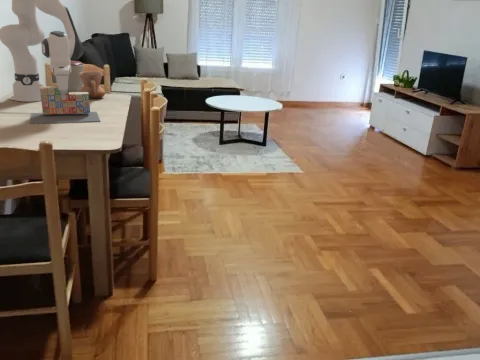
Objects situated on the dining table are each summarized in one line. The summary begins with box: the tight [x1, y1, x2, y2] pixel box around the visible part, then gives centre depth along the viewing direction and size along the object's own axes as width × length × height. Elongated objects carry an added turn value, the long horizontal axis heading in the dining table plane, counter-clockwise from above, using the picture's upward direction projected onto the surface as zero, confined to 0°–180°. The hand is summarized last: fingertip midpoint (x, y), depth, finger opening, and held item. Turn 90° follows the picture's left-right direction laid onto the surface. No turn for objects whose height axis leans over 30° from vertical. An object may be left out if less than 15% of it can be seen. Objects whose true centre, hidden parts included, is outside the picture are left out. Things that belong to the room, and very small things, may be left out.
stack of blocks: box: [40, 85, 91, 114], centre depth 218 cm, size 21×6×12 cm, turn 111°
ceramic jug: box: [79, 70, 106, 100], centre depth 261 cm, size 18×14×14 cm
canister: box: [54, 59, 85, 92], centre depth 273 cm, size 18×18×21 cm
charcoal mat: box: [29, 111, 101, 125], centre depth 216 cm, size 20×30×1 cm, turn 111°
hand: (63, 97), depth 218 cm, fingers closed on stack of blocks, 6 cm apart
